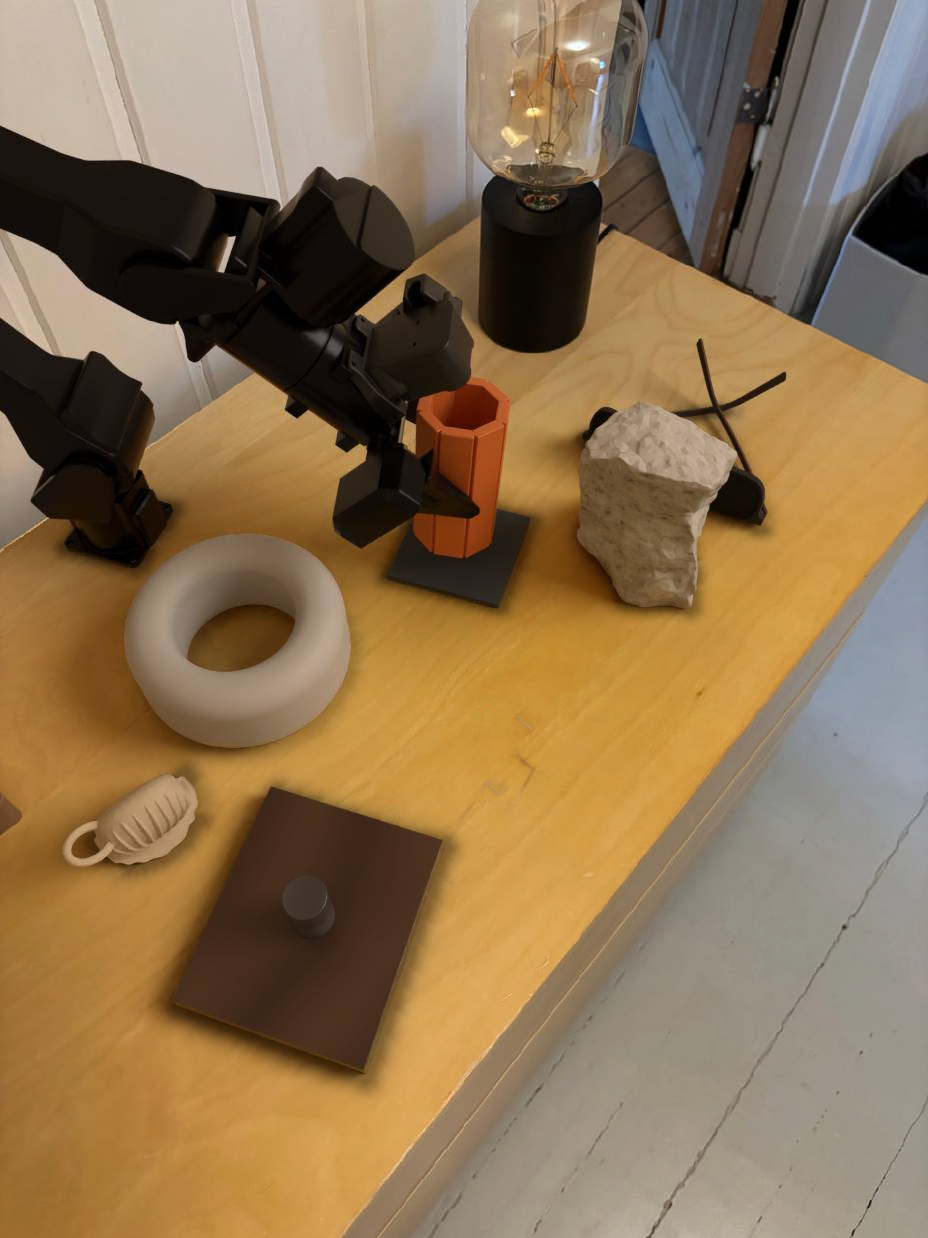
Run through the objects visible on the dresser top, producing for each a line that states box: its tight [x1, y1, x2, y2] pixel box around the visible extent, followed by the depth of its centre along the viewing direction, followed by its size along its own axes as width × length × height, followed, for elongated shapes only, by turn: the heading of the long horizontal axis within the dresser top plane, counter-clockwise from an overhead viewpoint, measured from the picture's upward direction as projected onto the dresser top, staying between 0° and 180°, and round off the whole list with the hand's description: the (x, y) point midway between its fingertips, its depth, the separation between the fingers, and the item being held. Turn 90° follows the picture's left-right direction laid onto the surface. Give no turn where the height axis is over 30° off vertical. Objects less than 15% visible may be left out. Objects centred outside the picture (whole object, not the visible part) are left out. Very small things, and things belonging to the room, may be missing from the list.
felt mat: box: [386, 508, 531, 609], centre depth 74 cm, size 9×9×1 cm
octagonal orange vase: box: [413, 376, 512, 558], centre depth 67 cm, size 6×6×12 cm
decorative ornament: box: [61, 773, 199, 868], centre depth 59 cm, size 4×8×5 cm, turn 129°
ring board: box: [171, 786, 445, 1075], centre depth 56 cm, size 12×14×6 cm
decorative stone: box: [575, 400, 738, 610], centre depth 68 cm, size 10×9×15 cm
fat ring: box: [123, 532, 352, 749], centre depth 66 cm, size 15×15×7 cm
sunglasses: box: [581, 337, 787, 527], centre depth 79 cm, size 17×14×5 cm
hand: (478, 480), depth 67 cm, fingers closed on octagonal orange vase, 6 cm apart
